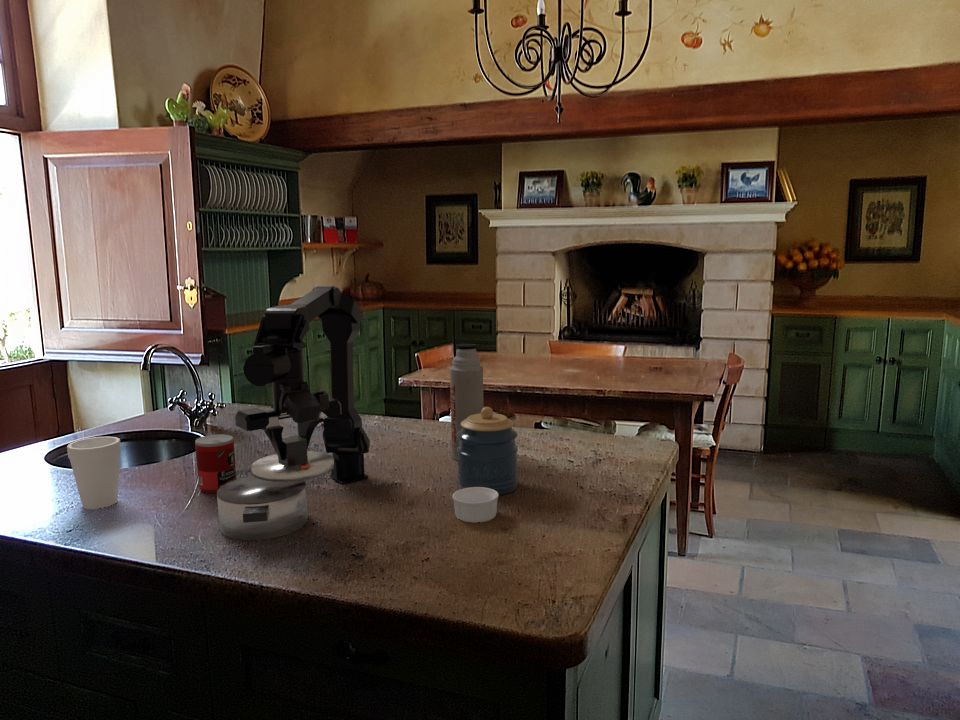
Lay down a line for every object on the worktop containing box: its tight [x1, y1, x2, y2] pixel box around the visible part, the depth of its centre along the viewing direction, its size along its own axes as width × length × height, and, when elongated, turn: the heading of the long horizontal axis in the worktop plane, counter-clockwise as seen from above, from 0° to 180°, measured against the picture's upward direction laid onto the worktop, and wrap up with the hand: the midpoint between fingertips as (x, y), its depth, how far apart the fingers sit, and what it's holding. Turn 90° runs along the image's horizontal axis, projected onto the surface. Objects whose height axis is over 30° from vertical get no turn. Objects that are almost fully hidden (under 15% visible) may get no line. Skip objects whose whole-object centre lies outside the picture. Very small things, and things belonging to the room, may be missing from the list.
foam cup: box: [66, 435, 122, 510], centre depth 145 cm, size 10×9×13 cm
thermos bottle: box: [449, 343, 485, 462], centre depth 172 cm, size 8×8×28 cm
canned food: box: [194, 433, 237, 494], centre depth 154 cm, size 8×8×11 cm
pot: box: [216, 475, 309, 541], centre depth 134 cm, size 23×16×7 cm
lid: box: [250, 434, 334, 482], centre depth 133 cm, size 15×15×6 cm
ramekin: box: [452, 487, 500, 524], centre depth 137 cm, size 9×9×4 cm
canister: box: [457, 406, 519, 496], centre depth 151 cm, size 13×13×18 cm
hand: (292, 457), depth 133 cm, fingers closed on lid, 4 cm apart
